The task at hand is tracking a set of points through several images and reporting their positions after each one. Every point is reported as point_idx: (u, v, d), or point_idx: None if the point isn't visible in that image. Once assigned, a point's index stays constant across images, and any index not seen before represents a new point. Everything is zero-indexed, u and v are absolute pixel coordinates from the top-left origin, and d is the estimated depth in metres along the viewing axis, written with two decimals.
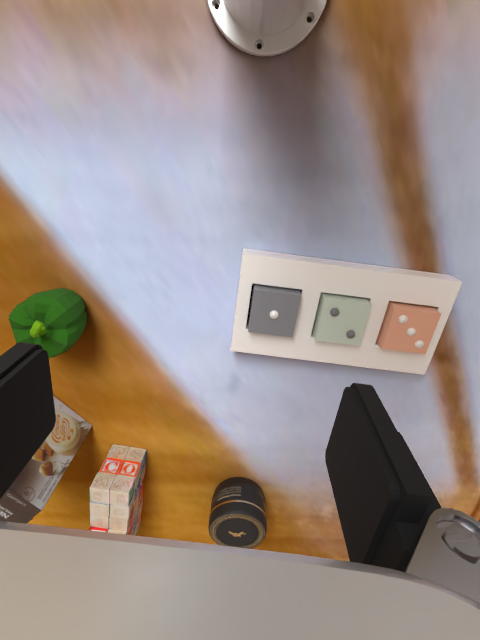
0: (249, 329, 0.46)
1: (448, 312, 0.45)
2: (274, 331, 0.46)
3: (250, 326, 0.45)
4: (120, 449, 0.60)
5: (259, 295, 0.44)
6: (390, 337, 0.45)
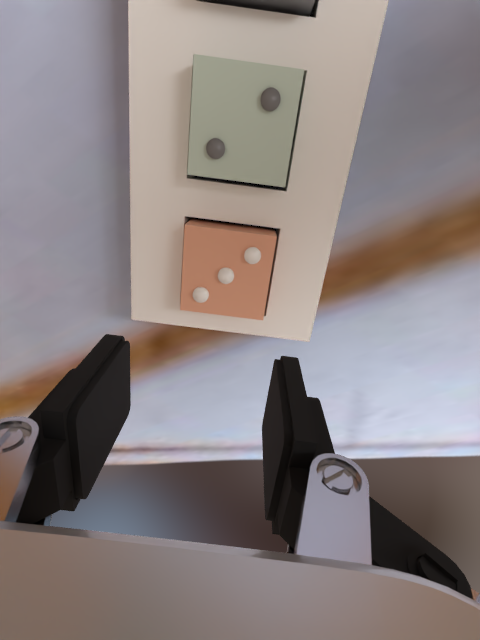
0: None
1: (255, 332, 0.27)
2: None
3: None
4: None
5: None
6: (212, 239, 0.23)
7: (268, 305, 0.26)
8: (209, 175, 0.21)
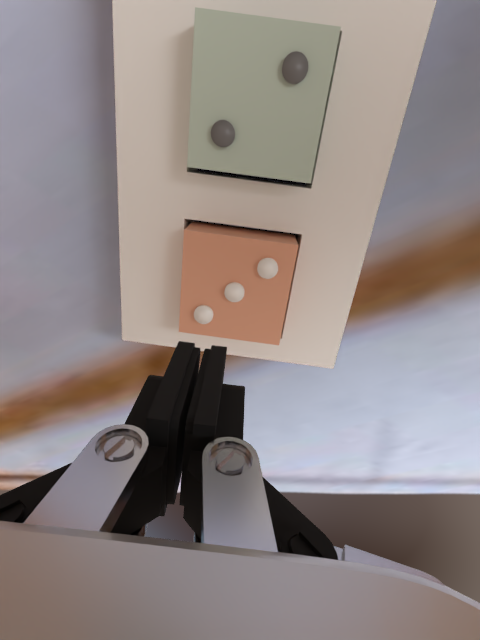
0: None
1: (269, 357, 0.23)
2: None
3: None
4: None
5: None
6: (218, 248, 0.18)
7: (285, 325, 0.22)
8: (214, 168, 0.17)
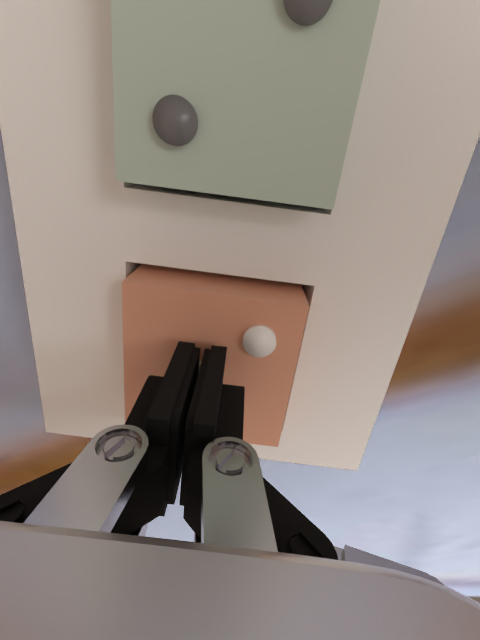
0: None
1: (263, 455, 0.15)
2: None
3: None
4: None
5: None
6: (179, 309, 0.11)
7: (287, 414, 0.14)
8: (164, 183, 0.09)
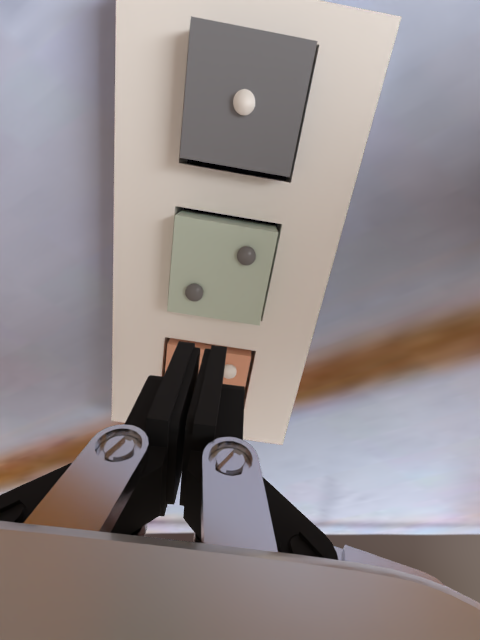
0: (199, 22, 0.16)
1: None
2: (195, 104, 0.17)
3: (208, 25, 0.16)
4: None
5: (299, 58, 0.17)
6: None
7: None
8: (188, 313, 0.22)
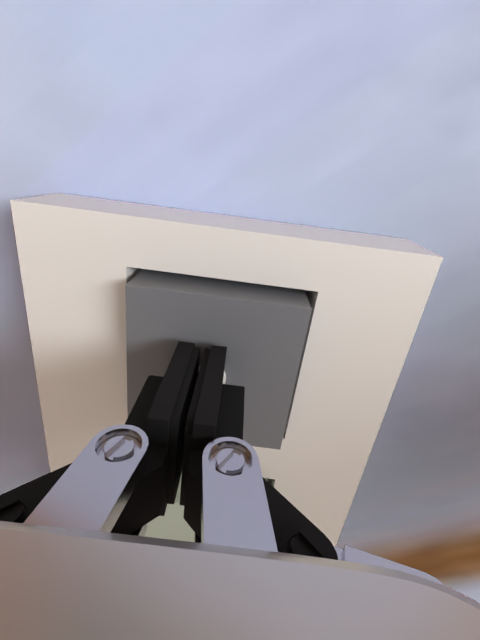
0: (137, 291, 0.11)
1: None
2: (142, 378, 0.12)
3: (151, 295, 0.11)
4: None
5: (286, 328, 0.11)
6: None
7: None
8: None
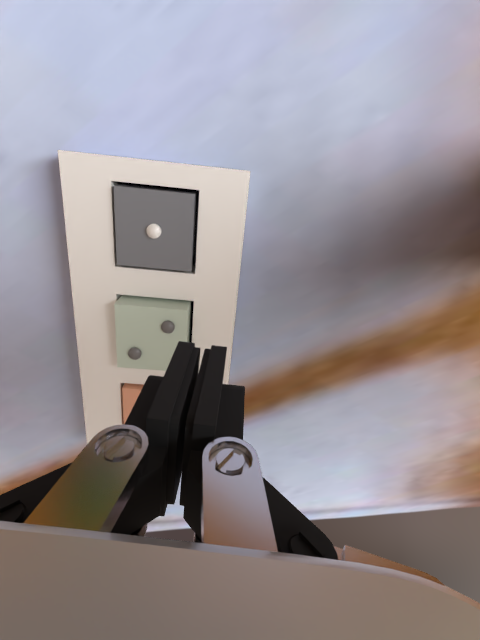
0: (119, 188, 0.26)
1: None
2: (122, 233, 0.27)
3: (125, 190, 0.26)
4: None
5: (184, 204, 0.26)
6: None
7: None
8: (132, 367, 0.30)
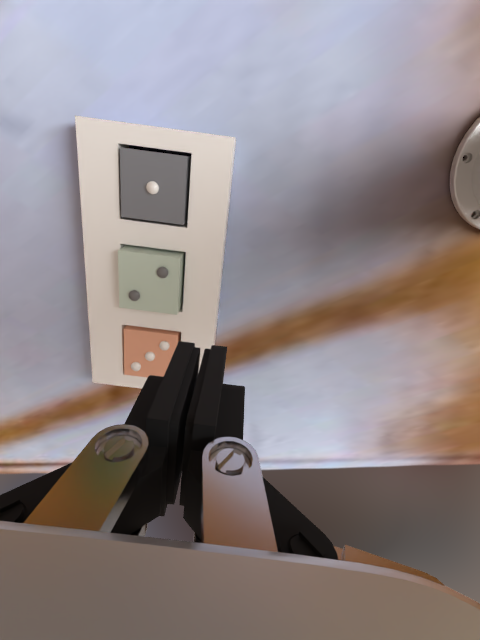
0: (124, 149, 0.31)
1: None
2: (126, 189, 0.32)
3: (129, 151, 0.31)
4: None
5: (179, 164, 0.31)
6: (140, 336, 0.38)
7: None
8: (132, 308, 0.36)
